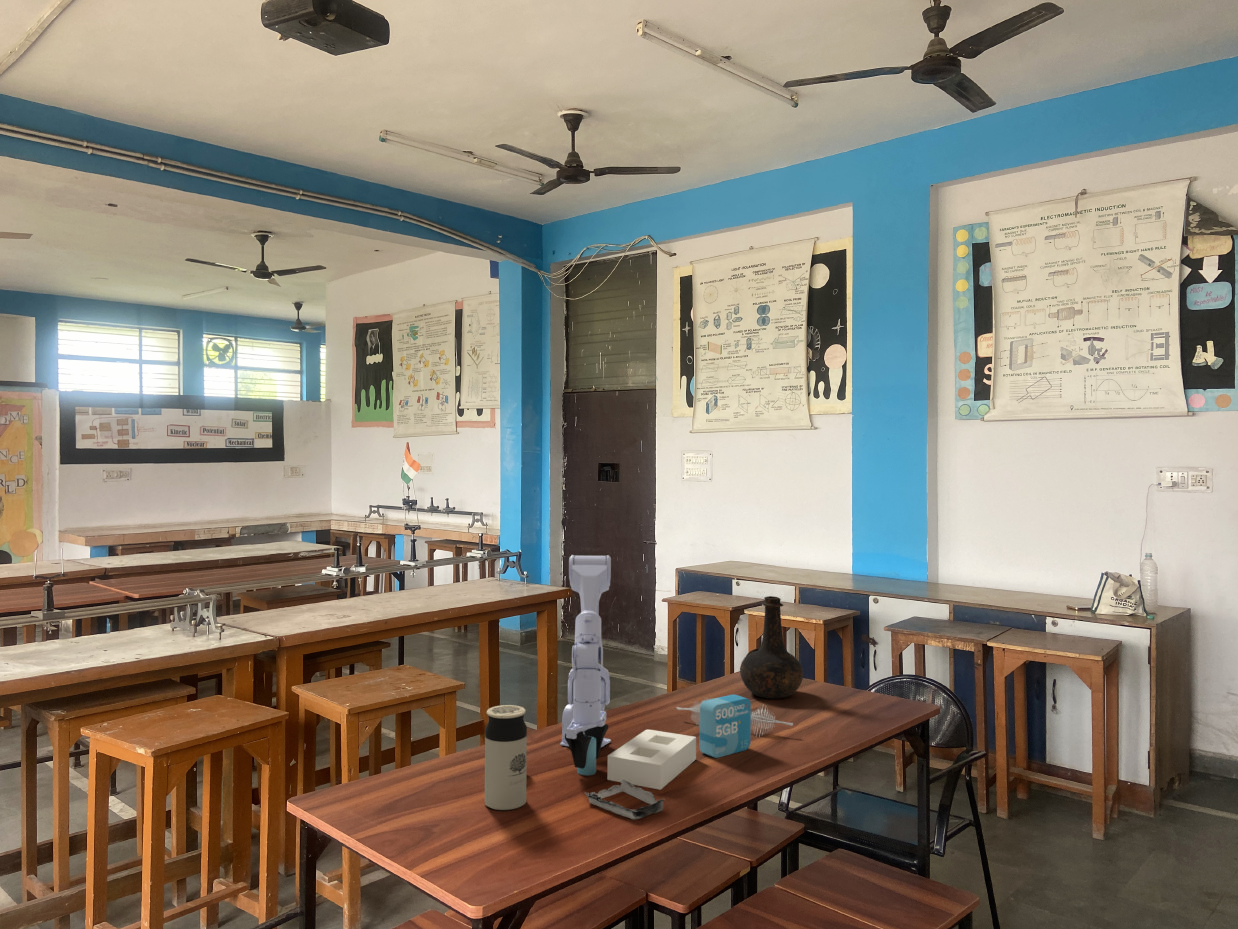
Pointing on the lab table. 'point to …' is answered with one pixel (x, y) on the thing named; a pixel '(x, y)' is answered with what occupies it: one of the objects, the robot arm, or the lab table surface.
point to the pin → (589, 759)
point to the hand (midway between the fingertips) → (586, 763)
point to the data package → (725, 725)
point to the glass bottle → (771, 659)
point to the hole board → (652, 758)
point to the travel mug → (505, 757)
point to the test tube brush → (751, 717)
